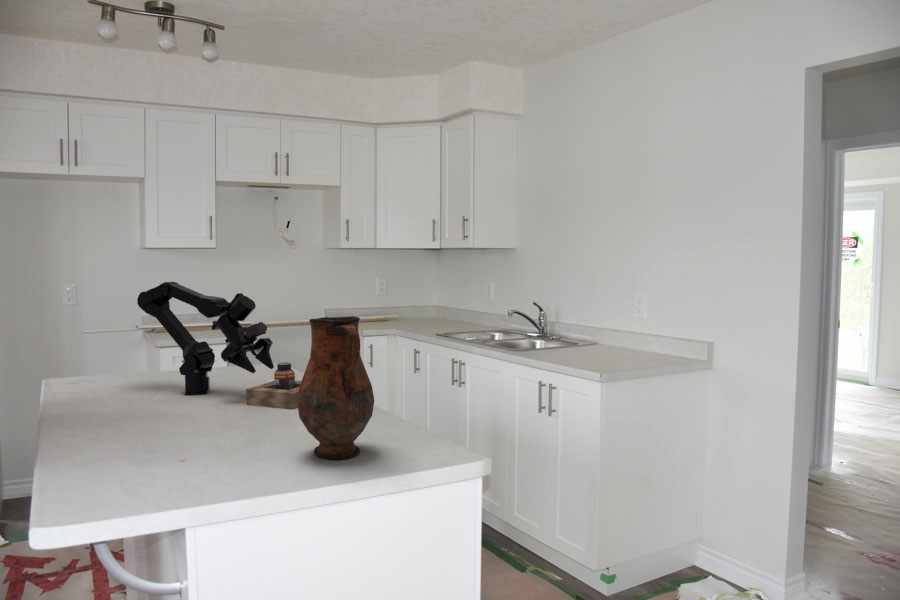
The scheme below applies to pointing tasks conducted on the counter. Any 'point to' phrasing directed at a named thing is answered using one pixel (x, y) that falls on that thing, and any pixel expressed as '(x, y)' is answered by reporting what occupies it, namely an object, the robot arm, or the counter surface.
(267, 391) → the walnut well
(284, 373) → the supplement bottle
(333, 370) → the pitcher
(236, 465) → the counter surface
